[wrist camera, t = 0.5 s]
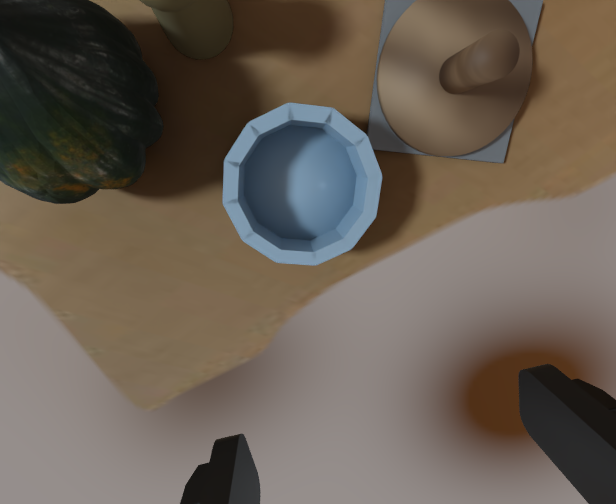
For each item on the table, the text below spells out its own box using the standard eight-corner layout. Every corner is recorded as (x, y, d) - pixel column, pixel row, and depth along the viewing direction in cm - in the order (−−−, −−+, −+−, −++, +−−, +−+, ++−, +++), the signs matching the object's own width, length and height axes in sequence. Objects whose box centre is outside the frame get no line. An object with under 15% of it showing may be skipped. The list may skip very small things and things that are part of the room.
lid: (389, -24, 28) (423, -81, 21) (543, 0, 30) (619, -47, 23) (366, 148, 32) (388, 145, 25) (503, 163, 33) (559, 164, 26)
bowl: (236, 106, 31) (225, 95, 25) (373, 122, 32) (391, 114, 26) (230, 242, 34) (220, 258, 29) (355, 252, 35) (368, 269, 30)
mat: (387, -20, 29) (390, -24, 28) (538, 3, 30) (543, 0, 29) (364, 148, 32) (366, 148, 32) (499, 163, 34) (503, 163, 33)
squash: (-17, 230, 27) (-27, 210, 16) (-128, 28, 23) (-241, -180, 12) (154, 187, 36) (223, 154, 25) (93, 37, 32) (142, -79, 21)
